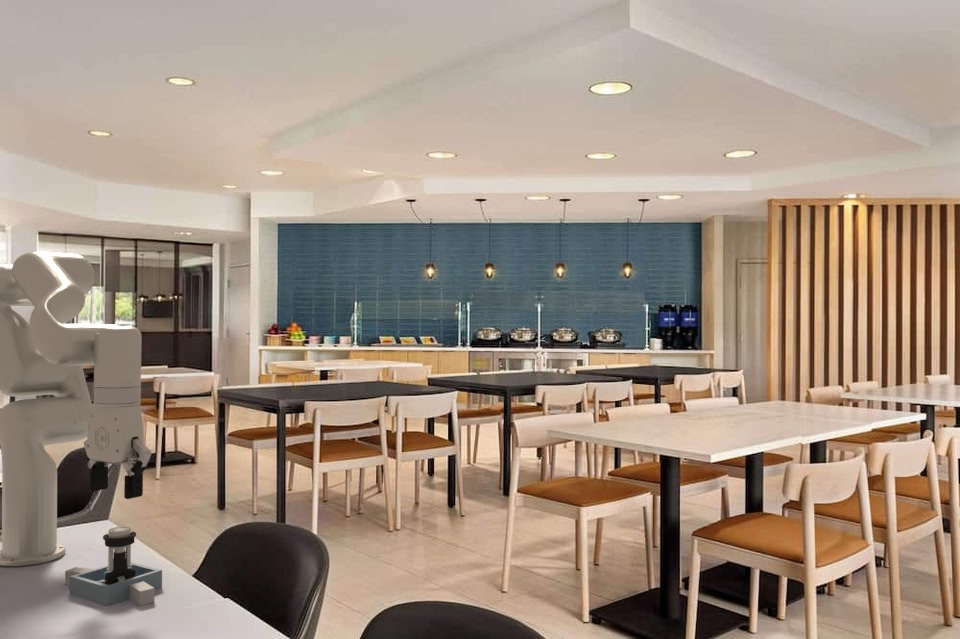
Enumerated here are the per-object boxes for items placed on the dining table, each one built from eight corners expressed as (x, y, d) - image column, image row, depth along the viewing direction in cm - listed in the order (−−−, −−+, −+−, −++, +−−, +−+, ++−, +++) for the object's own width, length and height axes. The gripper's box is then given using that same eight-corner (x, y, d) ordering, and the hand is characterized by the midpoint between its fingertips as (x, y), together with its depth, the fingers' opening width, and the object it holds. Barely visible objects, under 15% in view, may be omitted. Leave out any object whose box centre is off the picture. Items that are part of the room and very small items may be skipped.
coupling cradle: (49, 588, 139) (49, 570, 139) (104, 571, 148) (104, 555, 148) (127, 611, 128) (127, 592, 128) (181, 592, 137) (181, 574, 137)
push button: (99, 594, 134) (99, 536, 134) (90, 586, 138) (91, 530, 138) (140, 586, 138) (140, 529, 138) (130, 578, 142) (130, 523, 142)
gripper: (67, 394, 139) (66, 491, 139) (129, 402, 130) (127, 505, 130) (106, 391, 145) (105, 483, 146) (167, 398, 137) (166, 496, 137)
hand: (115, 493), depth 138 cm, fingers open, 9 cm apart
